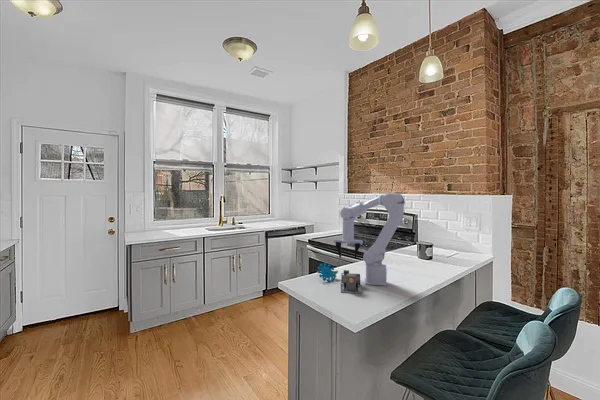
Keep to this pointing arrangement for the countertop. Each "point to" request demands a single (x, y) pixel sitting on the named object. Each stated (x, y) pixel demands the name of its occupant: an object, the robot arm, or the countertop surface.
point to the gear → (327, 272)
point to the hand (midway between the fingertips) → (347, 257)
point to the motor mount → (343, 283)
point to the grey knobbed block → (350, 281)
